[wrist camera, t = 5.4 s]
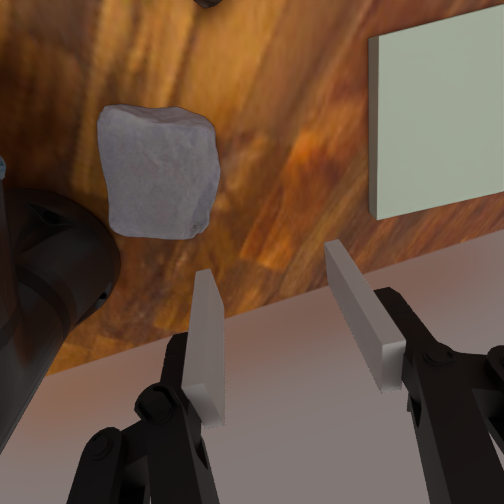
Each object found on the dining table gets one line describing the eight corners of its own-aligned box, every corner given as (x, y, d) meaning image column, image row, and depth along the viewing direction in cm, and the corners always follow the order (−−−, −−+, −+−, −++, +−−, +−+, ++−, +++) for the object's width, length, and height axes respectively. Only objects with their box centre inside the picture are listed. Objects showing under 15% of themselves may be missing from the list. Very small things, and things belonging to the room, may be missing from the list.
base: (369, 212, 33) (376, 220, 31) (368, 38, 25) (379, 36, 23) (506, 180, 32) (522, 186, 31) (554, -10, 24) (580, -15, 22)
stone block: (216, 108, 28) (97, 97, 25) (226, 118, 24) (87, 107, 21) (211, 221, 34) (115, 223, 32) (218, 244, 30) (110, 248, 28)
